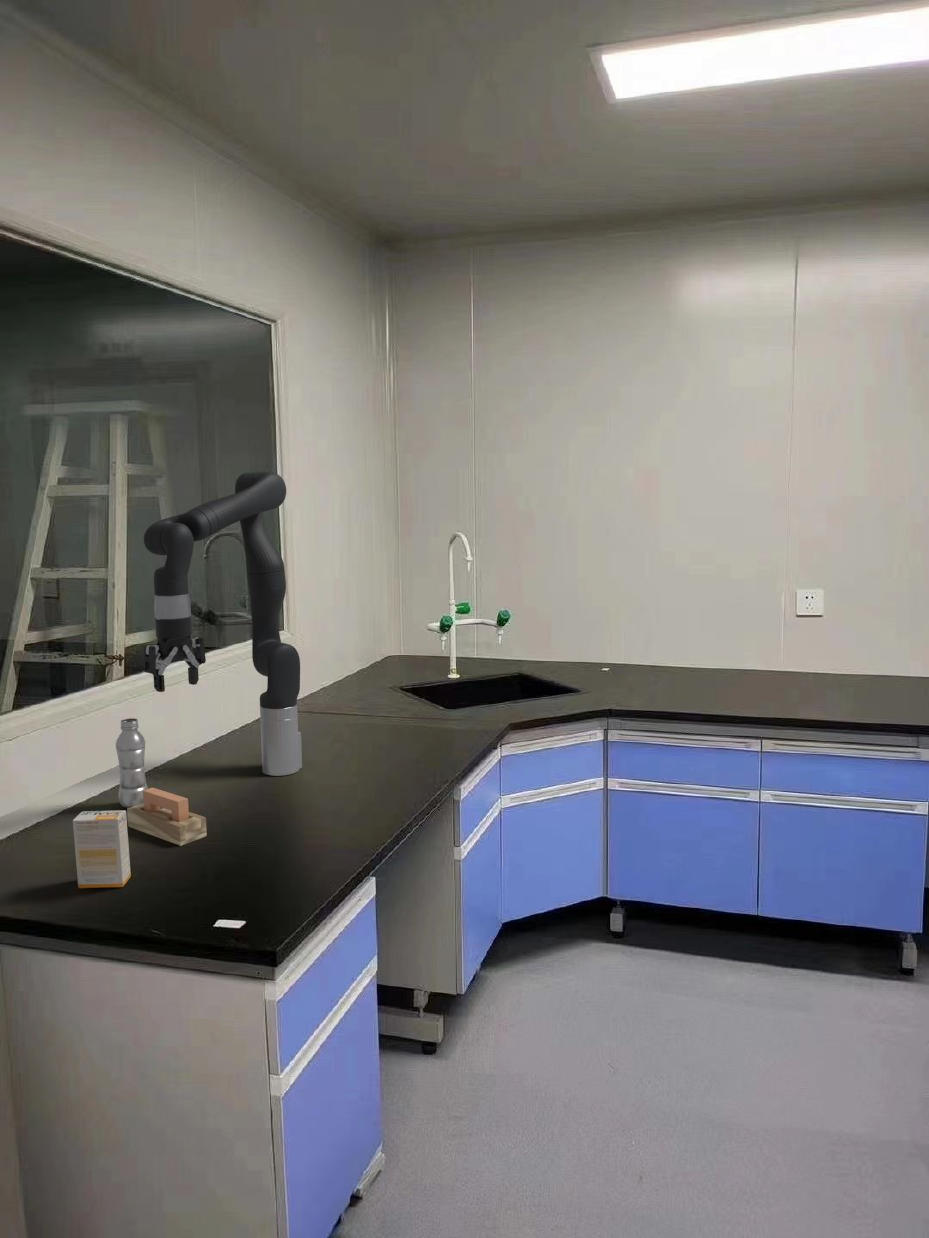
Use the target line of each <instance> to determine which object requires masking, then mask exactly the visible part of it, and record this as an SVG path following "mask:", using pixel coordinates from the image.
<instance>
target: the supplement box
mask: <svg viewBox="0 0 929 1238" xmlns="http://www.w3.org/2000/svg"><path fill="white" fill-rule="evenodd" d="M126 810H127V809H126ZM126 810H95V811H94V810H90V811H87V810H86V811H85V810H84V811H81V812H80V813H79V814H78V815H77V816H75V818H73V820H72V828H73V841H74V851H75V865H76V875H77V876H76V877H77V886H78V889H94V888H97V889H98V888H100V889H101V888H123V887H124V886H125V885H126V884H127V882H129V880H130V878H131V876H132V873H131V861H130V848H129V847H130V846H129V835H128V818H127V811H126Z"/></svg>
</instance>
